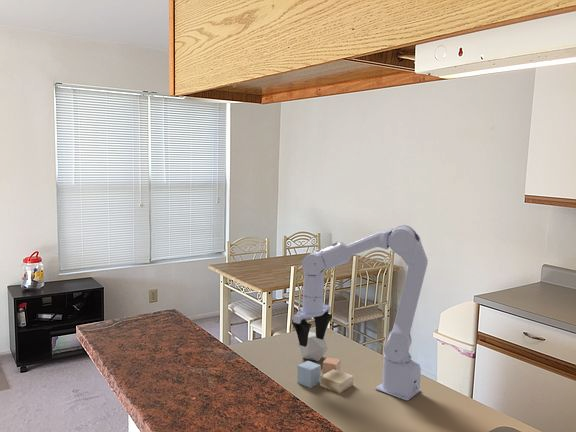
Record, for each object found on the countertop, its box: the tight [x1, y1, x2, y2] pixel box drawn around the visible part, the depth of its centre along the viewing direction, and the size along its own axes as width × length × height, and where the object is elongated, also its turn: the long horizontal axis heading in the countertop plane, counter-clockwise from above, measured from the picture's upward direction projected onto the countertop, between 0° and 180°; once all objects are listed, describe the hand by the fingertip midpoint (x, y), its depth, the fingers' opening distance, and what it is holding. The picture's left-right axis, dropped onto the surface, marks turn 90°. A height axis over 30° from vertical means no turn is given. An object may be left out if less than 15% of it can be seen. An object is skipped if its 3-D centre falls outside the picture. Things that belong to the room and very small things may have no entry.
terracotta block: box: [321, 356, 341, 376], centre depth 138 cm, size 4×4×4 cm
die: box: [297, 331, 329, 362], centre depth 149 cm, size 8×9×10 cm
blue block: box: [296, 360, 322, 389], centre depth 132 cm, size 4×4×5 cm
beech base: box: [319, 369, 354, 394], centre depth 131 cm, size 6×6×3 cm
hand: (311, 342), depth 137 cm, fingers open, 7 cm apart
